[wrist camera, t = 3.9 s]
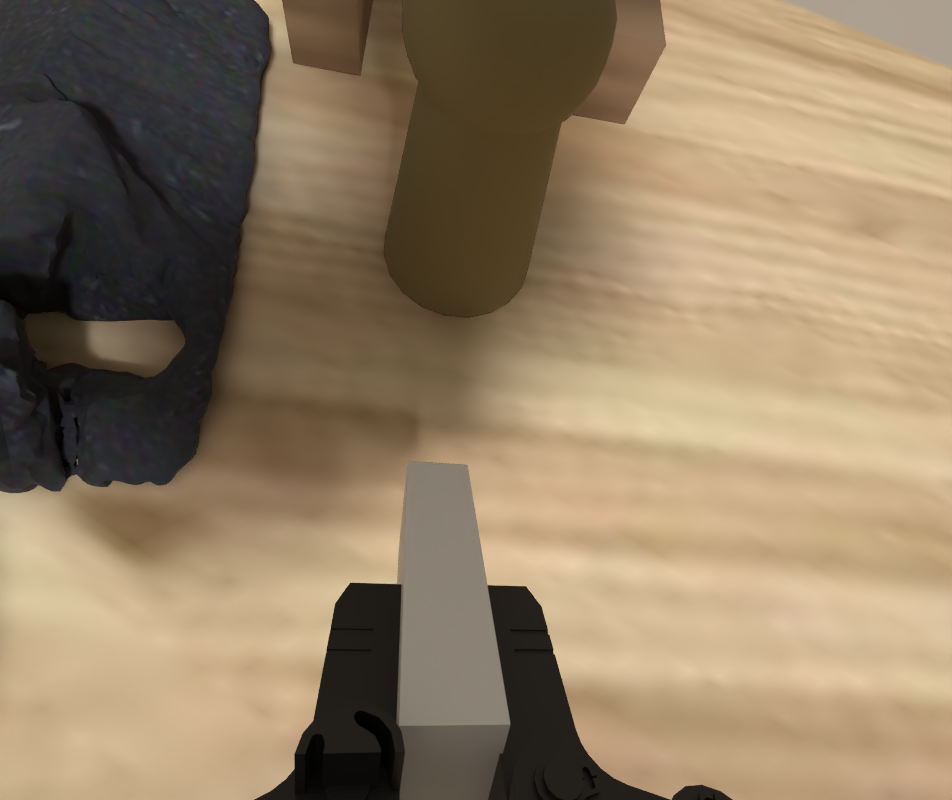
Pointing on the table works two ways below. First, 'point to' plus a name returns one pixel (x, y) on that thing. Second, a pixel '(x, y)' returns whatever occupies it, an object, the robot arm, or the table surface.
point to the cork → (485, 140)
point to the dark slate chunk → (119, 219)
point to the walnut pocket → (623, 78)
